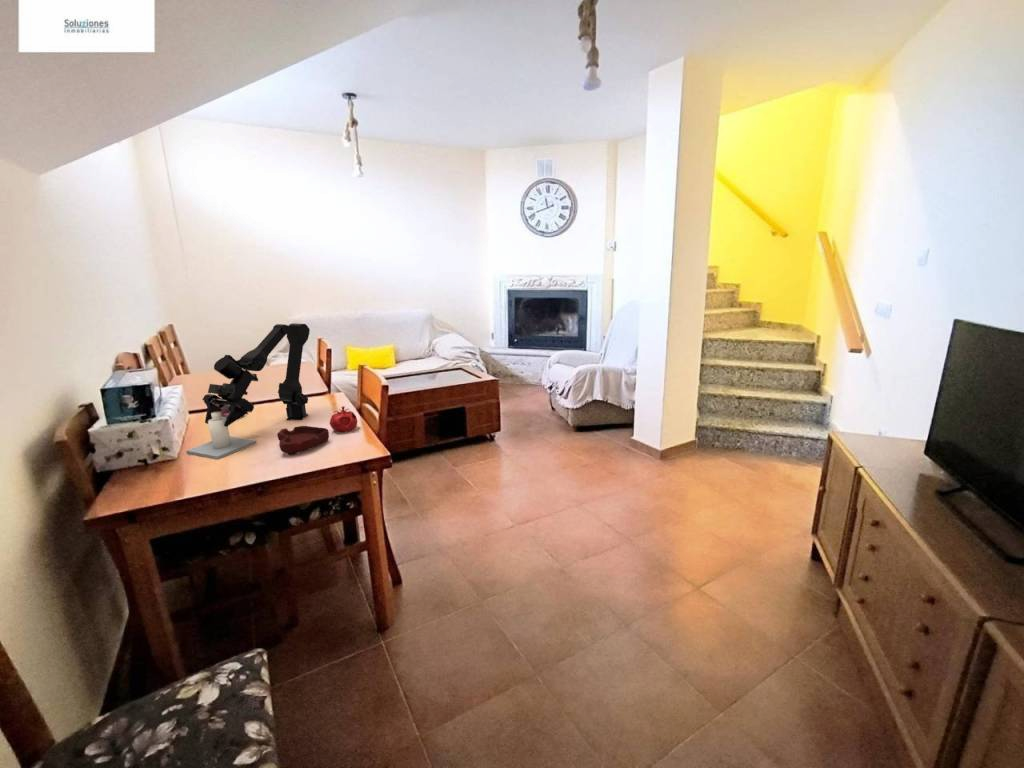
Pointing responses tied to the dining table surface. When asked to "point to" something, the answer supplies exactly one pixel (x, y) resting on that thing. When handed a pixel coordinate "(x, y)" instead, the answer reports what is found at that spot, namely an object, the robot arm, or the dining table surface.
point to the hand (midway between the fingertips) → (215, 424)
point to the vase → (219, 431)
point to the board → (218, 453)
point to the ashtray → (301, 439)
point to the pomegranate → (343, 421)
